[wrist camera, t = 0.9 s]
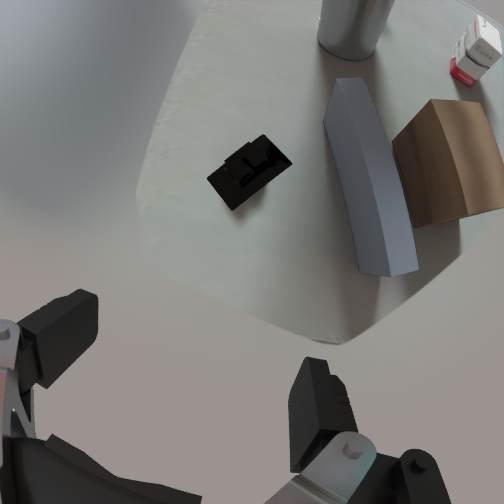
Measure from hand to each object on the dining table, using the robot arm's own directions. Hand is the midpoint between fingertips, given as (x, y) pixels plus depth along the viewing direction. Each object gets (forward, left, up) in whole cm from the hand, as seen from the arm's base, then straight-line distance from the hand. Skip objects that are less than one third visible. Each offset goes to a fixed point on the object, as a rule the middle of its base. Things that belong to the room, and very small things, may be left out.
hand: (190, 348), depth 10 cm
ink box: (-52, +10, -25) cm, 59 cm away
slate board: (-17, +4, -24) cm, 30 cm away
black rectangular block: (-12, -8, -25) cm, 29 cm away
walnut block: (-25, +12, -25) cm, 37 cm away
